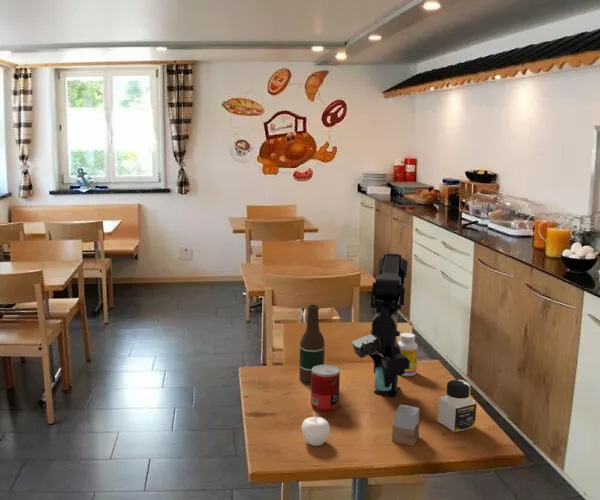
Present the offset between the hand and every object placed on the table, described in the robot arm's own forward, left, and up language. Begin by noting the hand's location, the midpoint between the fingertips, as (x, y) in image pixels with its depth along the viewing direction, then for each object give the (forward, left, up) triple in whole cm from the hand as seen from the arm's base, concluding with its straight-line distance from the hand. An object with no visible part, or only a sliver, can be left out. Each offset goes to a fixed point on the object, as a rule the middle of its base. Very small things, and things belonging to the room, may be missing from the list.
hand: (383, 383), depth 170 cm
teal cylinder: (0, 0, -1) cm, 1 cm away
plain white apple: (+16, -12, -12) cm, 23 cm away
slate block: (+4, +8, -8) cm, 12 cm away
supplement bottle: (-40, -4, -12) cm, 42 cm away
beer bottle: (-21, -29, -12) cm, 38 cm away
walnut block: (+4, +7, -12) cm, 15 cm away
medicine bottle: (-10, +18, -12) cm, 24 cm away
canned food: (-5, -18, -12) cm, 23 cm away
